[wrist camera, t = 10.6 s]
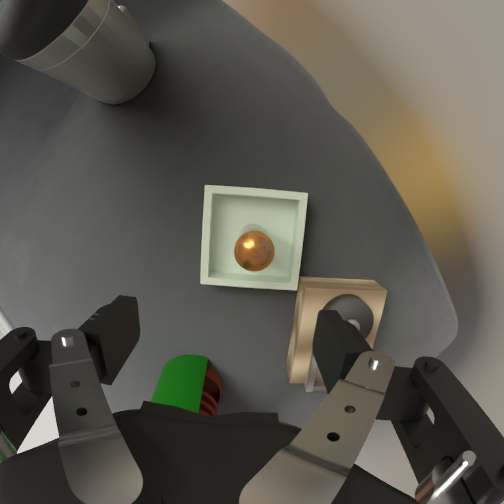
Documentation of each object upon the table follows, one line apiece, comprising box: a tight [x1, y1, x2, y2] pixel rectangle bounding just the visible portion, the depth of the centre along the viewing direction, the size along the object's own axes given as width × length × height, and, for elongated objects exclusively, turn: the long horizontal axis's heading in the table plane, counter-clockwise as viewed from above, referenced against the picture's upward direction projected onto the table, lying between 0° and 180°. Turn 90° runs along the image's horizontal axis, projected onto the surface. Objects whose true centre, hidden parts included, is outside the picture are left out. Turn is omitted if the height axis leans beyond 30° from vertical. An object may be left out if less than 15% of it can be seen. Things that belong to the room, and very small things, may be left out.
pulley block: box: [286, 276, 387, 392], centre depth 32 cm, size 14×10×7 cm
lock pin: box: [234, 223, 275, 271], centre depth 27 cm, size 3×3×8 cm
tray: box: [200, 185, 308, 290], centre depth 31 cm, size 11×11×3 cm
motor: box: [151, 355, 222, 416], centre depth 27 cm, size 10×9×20 cm
